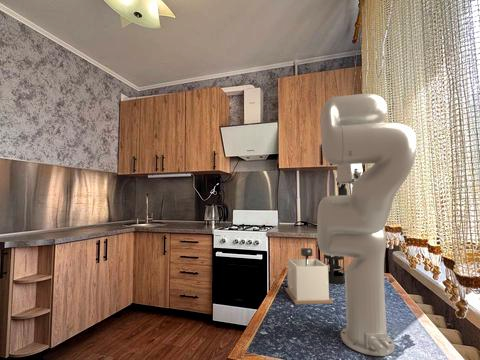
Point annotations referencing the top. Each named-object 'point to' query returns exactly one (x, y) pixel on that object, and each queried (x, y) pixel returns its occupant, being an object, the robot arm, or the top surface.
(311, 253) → the plunger
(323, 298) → the white open box
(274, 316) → the top surface
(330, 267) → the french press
